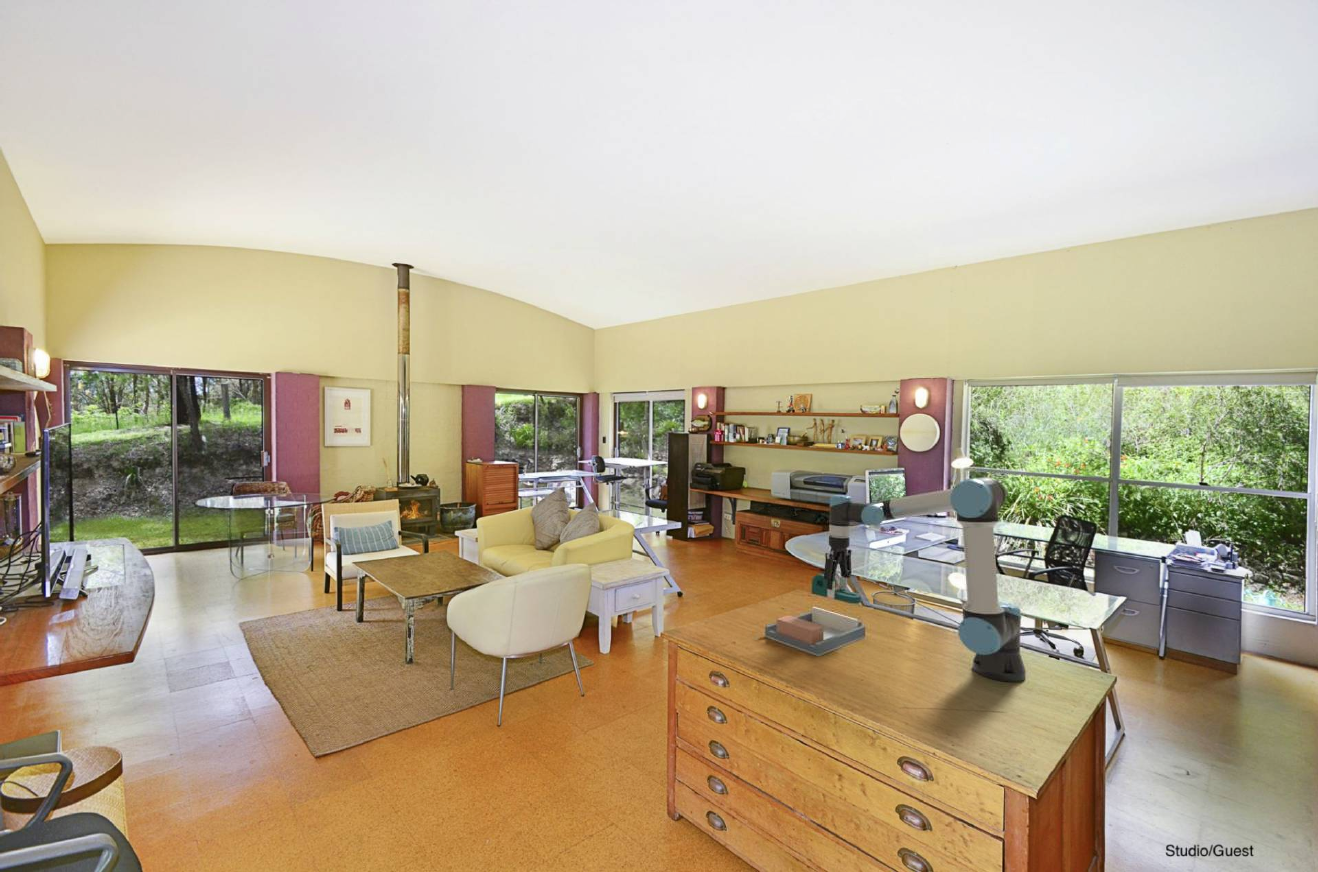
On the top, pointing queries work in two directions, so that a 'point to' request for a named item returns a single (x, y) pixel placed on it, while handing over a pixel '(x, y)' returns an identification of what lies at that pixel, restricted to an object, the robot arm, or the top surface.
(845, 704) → the top surface
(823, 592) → the bracket
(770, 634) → the grey tray
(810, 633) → the box
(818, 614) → the pusher plate
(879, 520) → the robot arm
